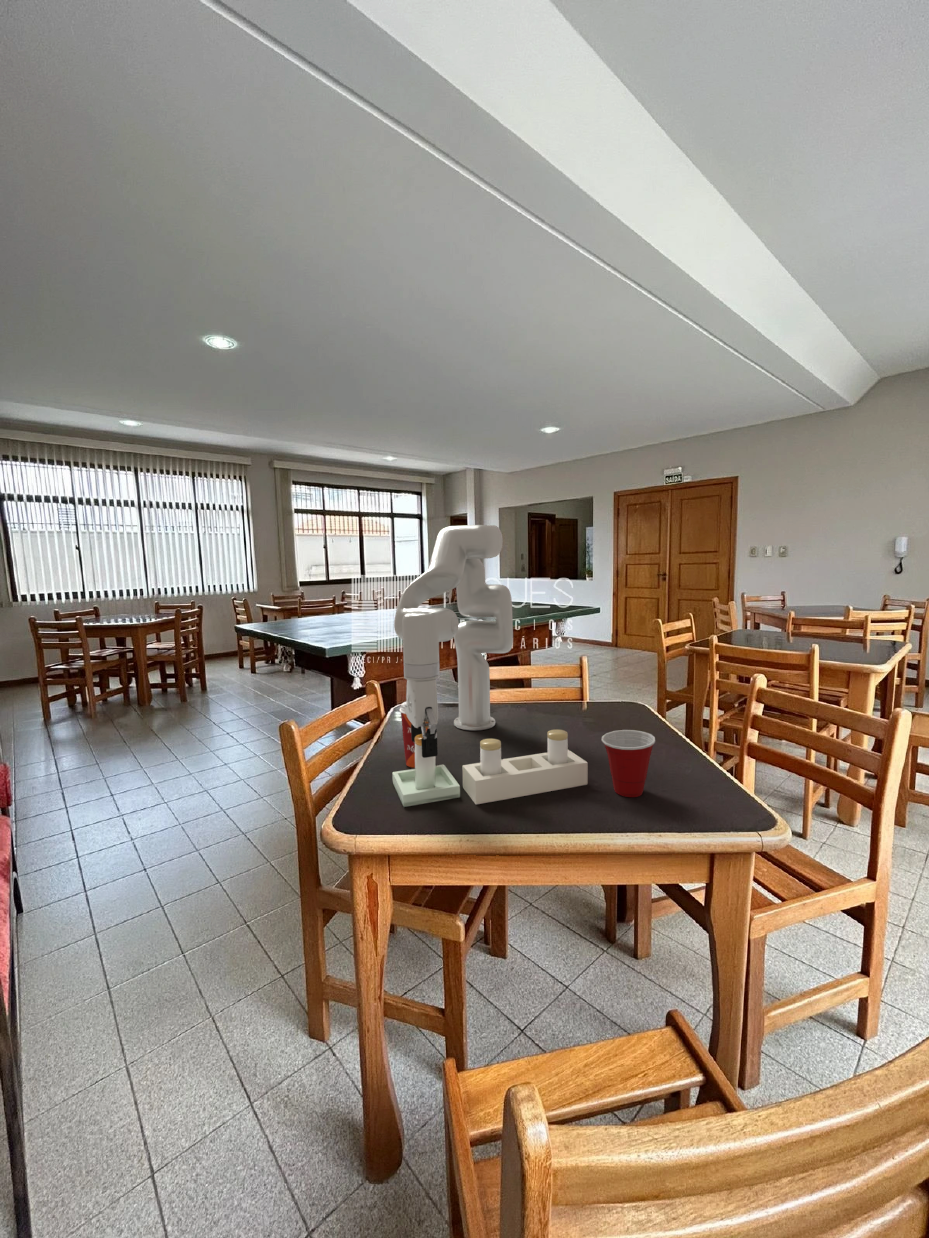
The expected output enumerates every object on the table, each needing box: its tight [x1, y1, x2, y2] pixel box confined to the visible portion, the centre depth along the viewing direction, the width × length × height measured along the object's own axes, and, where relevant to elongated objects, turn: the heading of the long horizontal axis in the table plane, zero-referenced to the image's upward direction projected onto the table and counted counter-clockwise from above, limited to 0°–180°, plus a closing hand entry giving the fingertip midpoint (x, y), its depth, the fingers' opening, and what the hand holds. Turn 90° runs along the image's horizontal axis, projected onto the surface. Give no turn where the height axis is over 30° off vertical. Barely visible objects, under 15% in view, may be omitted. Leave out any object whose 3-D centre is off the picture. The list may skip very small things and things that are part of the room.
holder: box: [462, 749, 589, 805], centre depth 110 cm, size 8×26×5 cm, turn 109°
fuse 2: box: [546, 728, 569, 765], centre depth 112 cm, size 4×4×11 cm
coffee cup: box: [399, 701, 428, 769], centre depth 123 cm, size 8×8×15 cm
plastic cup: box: [601, 729, 656, 798], centre depth 106 cm, size 11×11×12 cm
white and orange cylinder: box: [414, 734, 436, 790], centre depth 108 cm, size 4×4×11 cm
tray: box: [391, 764, 461, 808], centre depth 109 cm, size 12×12×2 cm
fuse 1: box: [479, 738, 502, 777], centre depth 107 cm, size 4×4×11 cm
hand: (424, 748), depth 108 cm, fingers open, 9 cm apart
